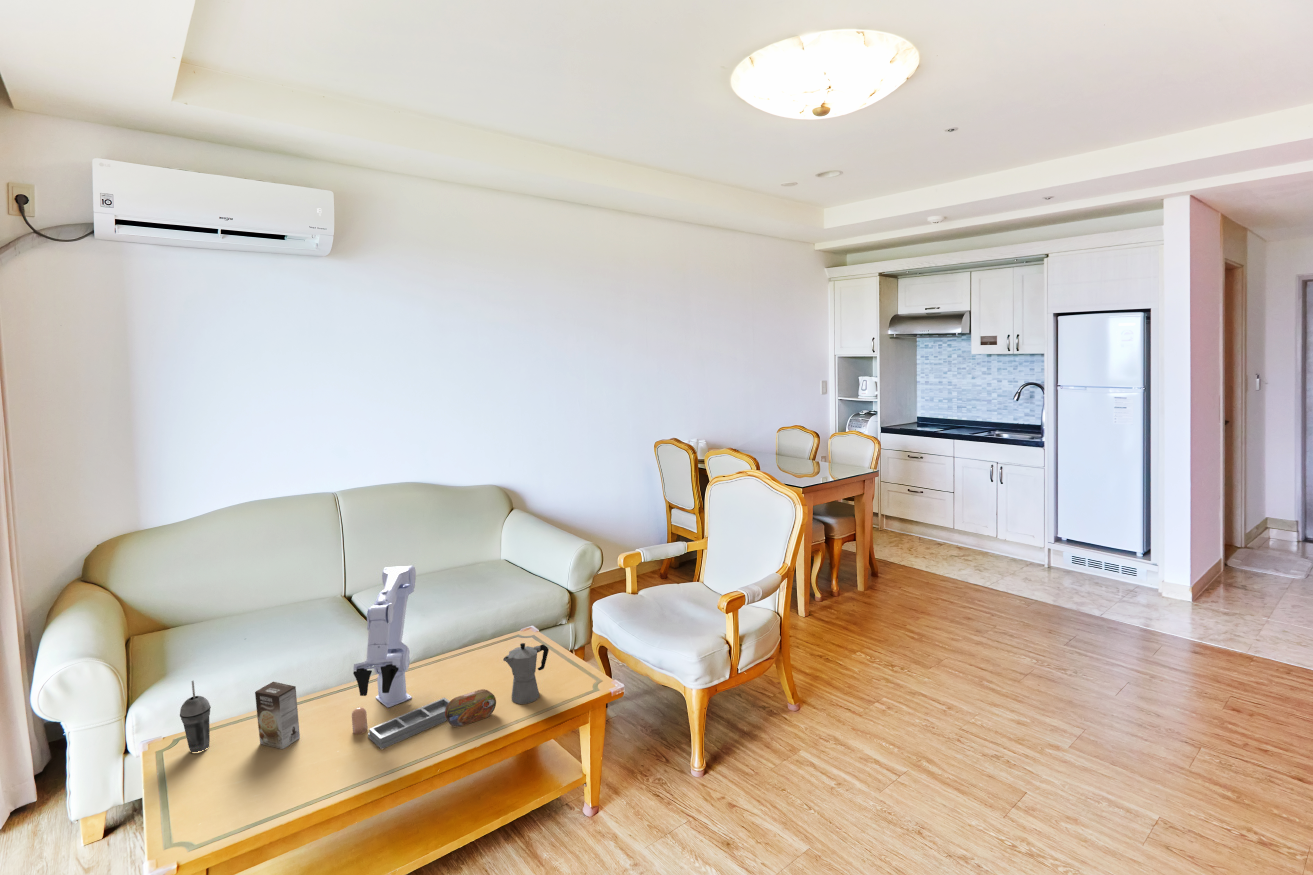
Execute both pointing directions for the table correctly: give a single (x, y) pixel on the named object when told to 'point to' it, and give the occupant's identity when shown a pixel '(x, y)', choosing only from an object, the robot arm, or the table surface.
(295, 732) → the coffee box
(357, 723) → the tan rounded cylinder
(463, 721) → the tin
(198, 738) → the beverage cup
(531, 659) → the coffeepot
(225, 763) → the table surface
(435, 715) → the grey compartment tray
